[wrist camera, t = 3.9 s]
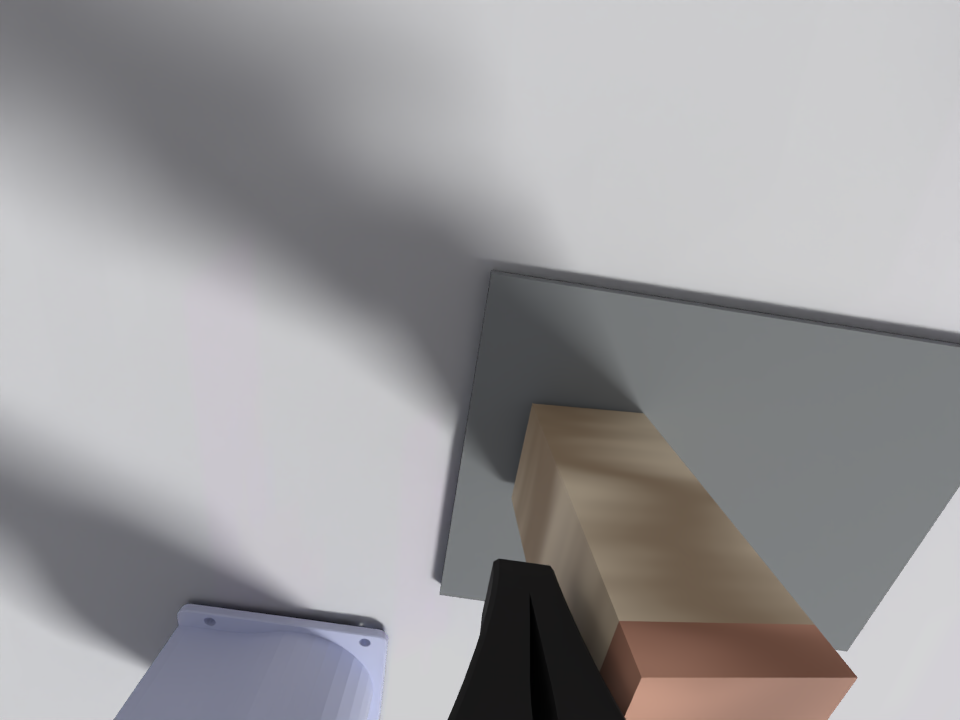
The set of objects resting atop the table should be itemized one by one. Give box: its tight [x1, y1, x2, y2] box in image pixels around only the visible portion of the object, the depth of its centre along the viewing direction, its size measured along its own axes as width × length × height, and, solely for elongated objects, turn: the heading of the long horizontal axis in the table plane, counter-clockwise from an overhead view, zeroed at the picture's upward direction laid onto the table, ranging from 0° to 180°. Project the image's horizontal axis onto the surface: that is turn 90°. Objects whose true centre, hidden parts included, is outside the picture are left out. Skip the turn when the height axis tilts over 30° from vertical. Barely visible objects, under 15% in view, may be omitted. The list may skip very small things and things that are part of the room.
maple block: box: [511, 403, 857, 720], centre depth 13 cm, size 4×4×9 cm
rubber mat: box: [440, 270, 960, 651], centre depth 18 cm, size 18×14×1 cm
